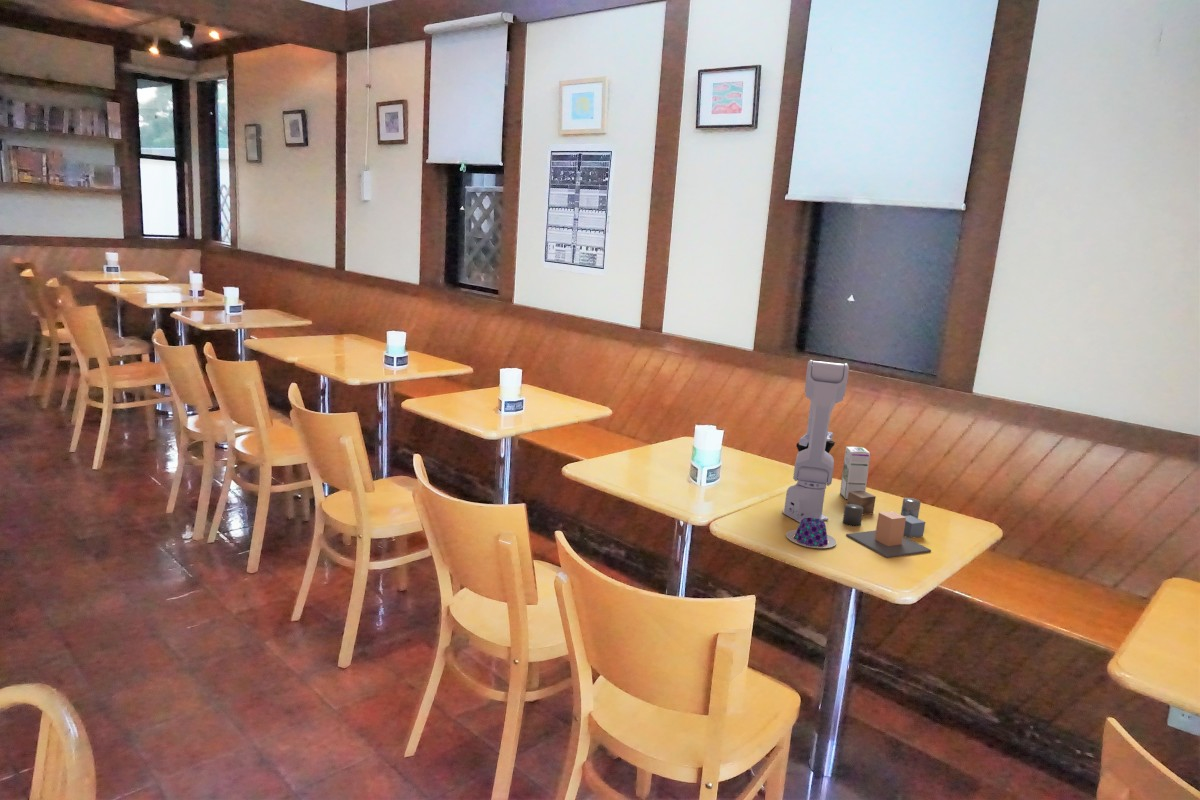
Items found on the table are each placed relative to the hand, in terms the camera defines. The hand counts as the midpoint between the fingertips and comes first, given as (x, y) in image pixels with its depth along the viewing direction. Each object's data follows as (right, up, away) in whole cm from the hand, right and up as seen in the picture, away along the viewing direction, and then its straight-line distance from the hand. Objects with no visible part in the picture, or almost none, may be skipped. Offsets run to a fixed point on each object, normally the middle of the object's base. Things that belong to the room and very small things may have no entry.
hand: (812, 466), depth 224 cm
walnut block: (+12, -12, -5) cm, 17 cm away
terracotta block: (+11, -16, -28) cm, 34 cm away
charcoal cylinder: (+6, -13, -15) cm, 21 cm away
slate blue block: (+19, -16, -20) cm, 32 cm away
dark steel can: (+23, -13, -10) cm, 29 cm away
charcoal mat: (+11, -17, -28) cm, 34 cm away
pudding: (-8, -16, -29) cm, 34 cm away
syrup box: (+13, -9, +6) cm, 17 cm away
